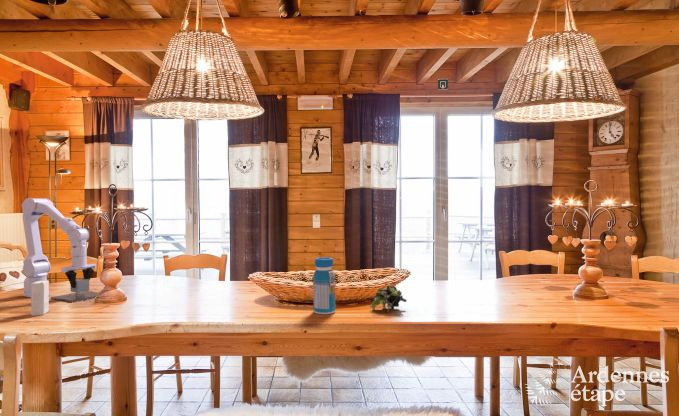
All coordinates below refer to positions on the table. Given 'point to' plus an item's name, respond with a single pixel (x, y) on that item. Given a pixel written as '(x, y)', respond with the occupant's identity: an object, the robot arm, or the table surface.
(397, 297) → the green leafy plant
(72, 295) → the dark grey flat block
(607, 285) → the table surface
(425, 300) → the table surface
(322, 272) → the beverage bottle
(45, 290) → the skincare box
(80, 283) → the grey cube
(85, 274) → the robot arm
